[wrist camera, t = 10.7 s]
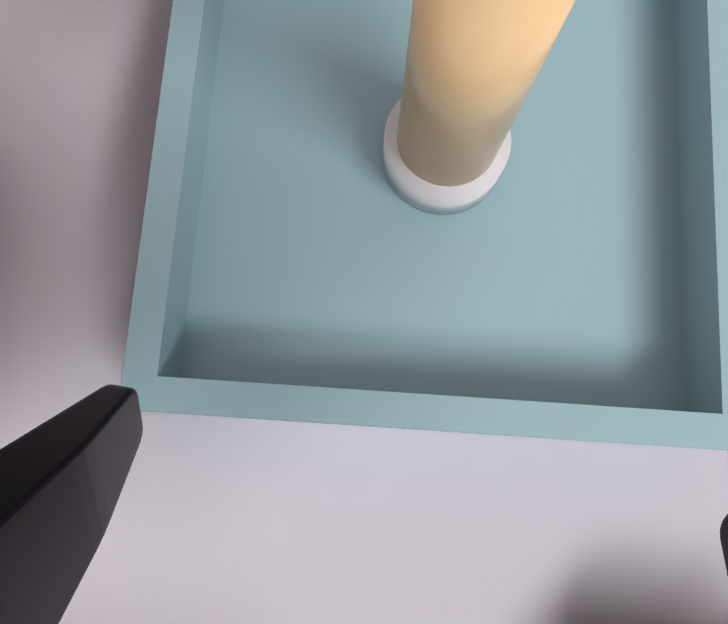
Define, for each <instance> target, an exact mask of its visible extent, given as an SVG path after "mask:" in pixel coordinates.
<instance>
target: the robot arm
mask: <svg viewBox="0 0 728 624" xmlns="http://www.w3.org/2000/svg"><path fill="white" fill-rule="evenodd" d="M142 432H143V426H142V418H141V412H140V405H139V398H138V394H137V392H136V390H135V389H133V388H131V387H124V386H118V385H106V386H104V387H102V388H100V389H98V390H97V391H95V392H93V393H92V394H90V395H89V396H87V397H85V398H84V399H82V400H80V401H79V402H77V403H75V404H74V405H72V406H71V407H69V408H67V409H66V410H64V411H62V412H61V413H59V414H57V415H56V416H54V417H53V418H51V419H49V420H48V421H46V422H44V423H43V424H41V425H39V426H38V427H36V428H35V429H33V430H31V431H30V432H28V433H26V434H25V435H23V436H21V437H20V438H18V439H17V440H15V441H13V442H12V443H10V444H8V445H7V446H5V447H3V448H2V449H0V624H59V622H60V620H61V618H62V616H63V614H64V612H65V610H66V608H67V606H68V604H69V603H70V601H71V599H72V597H73V595H74V593H75V591H76V589H77V587H78V585H79V583H80V581H81V579H82V578H83V576H84V574H85V572H86V570H87V568H88V566H89V564H90V562H91V560H92V558H93V556H94V554H95V552H96V551H97V548H98V546H99V544H100V542H101V540H102V538H103V536H104V534H105V531H106V529H107V527H108V524H109V522H110V519H111V517H112V514H113V512H114V509H115V506H116V504H117V501H118V499H119V496H120V493H121V491H122V488H123V486H124V483H125V480H126V478H127V475H128V473H129V470H130V468H131V465H132V462H133V460H134V457H135V455H136V452H137V449H138V447H139V444H140V441H141V438H142ZM720 540H721V545H722V550H723V555H724V560H725V565H726V570H727V575H728V514H727V515H726V517H725V518H724V520H723V521H722V524H721V528H720Z"/></svg>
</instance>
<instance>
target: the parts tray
mask: <svg viewBox="0 0 728 624" xmlns="http://www.w3.org/2000/svg"><path fill="white" fill-rule="evenodd" d="M412 3H413V0H173V3H172V11H171V18H170V25H169V33H168V40H167V48H166V55H165V62H164V70H163V77H162V84H161V92H160V99H159V106H158V114H157V121H156V128H155V136H154V143H153V150H152V158H151V165H150V172H149V180H148V187H147V194H146V202H145V209H144V216H143V224H142V231H141V238H140V246H139V253H138V260H137V268H136V275H135V282H134V290H133V297H132V305H131V312H130V319H129V327H128V334H127V341H126V349H125V356H124V363H123V371H122V378H121V385H120V386H124V387H131V388H133V389H135V390H136V392H137V394H138V398H139V405H140V411H148V412H163V413H178V414H193V415H208V416H223V417H237V418H252V419H267V420H282V421H297V422H312V423H326V424H341V425H356V426H371V427H386V428H401V429H415V430H430V431H445V432H460V433H475V434H490V435H504V436H519V437H534V438H549V439H564V440H579V441H593V442H608V443H623V444H638V445H653V446H667V447H682V448H697V449H712V450H727V451H728V0H575V2H574V4H573V6H572V8H571V10H570V12H569V14H568V16H567V18H566V20H565V22H564V24H563V26H562V28H561V30H560V32H559V33H558V35H557V37H556V39H555V41H554V43H553V45H552V47H551V49H550V51H549V53H548V55H547V57H546V59H545V61H544V63H543V65H542V67H541V69H540V71H539V73H538V75H537V77H536V79H535V81H534V82H533V84H532V86H531V88H530V90H529V92H528V94H527V96H526V98H525V100H524V102H523V104H522V106H521V108H520V110H519V112H518V114H517V116H516V118H515V120H514V122H513V124H512V126H511V128H510V132H511V151H510V155H509V158H508V161H507V163H506V166H505V167H504V169H503V171H502V173H501V174H500V176H499V178H498V180H497V182H496V183H495V185H494V187H493V188H492V190H491V191H490V193H489V194H488V195H487V196H486V197H485V198H484V199H483V200H482V201H481V202H480V203H479V204H477V205H476V206H474V207H472V208H470V209H469V210H466V211H463V212H461V213H457V214H451V215H435V214H429V213H425V212H422V211H419V210H417V209H415V208H413V207H411V206H409V205H408V204H407V203H405V202H404V201H403V200H402V199H401V198H399V197H398V196H397V194H396V193H395V192H394V191H393V189H392V188H391V186H390V184H389V183H388V180H387V178H386V176H385V172H384V168H383V143H384V132H385V126H386V122H387V119H388V117H389V114H390V112H391V110H392V109H393V107H394V106H395V104H396V103H397V102H398V101H399V100H400V99H401V96H402V87H403V79H404V70H405V62H406V54H407V45H408V37H409V28H410V20H411V11H412Z"/></svg>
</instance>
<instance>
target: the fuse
mask: <svg viewBox="0 0 728 624" xmlns="http://www.w3.org/2000/svg"><path fill="white" fill-rule="evenodd" d="M574 2H575V0H413V3H412V11H411V20H410V28H409V37H408V45H407V54H406V62H405V70H404V79H403V87H402V96H401V99H400V100H399V101H398V102H397V103H396V104H395V106H394V107H393V109H392V110H391V112H390V114H389V117H388V119H387V122H386V126H385V132H384V143H383V168H384V172H385V176H386V178H387V180H388V183H389V184H390V186H391V188H392V189H393V191H394V192H395V193H396V194H397V196H398V197H399V198H401V199H402V200H403V201H404V202H405V203H407V204H408V205H409V206H411V207H413V208H415V209H417V210H419V211H422V212H425V213H429V214H435V215H451V214H457V213H461V212H463V211H466V210H469V209H470V208H472V207H474V206H476V205H477V204H479V203H480V202H481V201H482V200H483V199H484V198H485V197H486V196H487V195H488V194H489V193H490V191H491V190H492V188H493V187H494V185H495V183H496V182H497V180H498V178H499V176H500V174H501V173H502V171H503V169H504V167H505V166H506V163H507V161H508V158H509V155H510V151H511V132H510V128H511V126H512V124H513V122H514V120H515V118H516V116H517V114H518V112H519V110H520V108H521V106H522V104H523V102H524V100H525V98H526V96H527V94H528V92H529V90H530V88H531V86H532V84H533V82H534V81H535V79H536V77H537V75H538V73H539V71H540V69H541V67H542V65H543V63H544V61H545V59H546V57H547V55H548V53H549V51H550V49H551V47H552V45H553V43H554V41H555V39H556V37H557V35H558V33H559V32H560V30H561V28H562V26H563V24H564V22H565V20H566V18H567V16H568V14H569V12H570V10H571V8H572V6H573V4H574Z"/></svg>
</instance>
